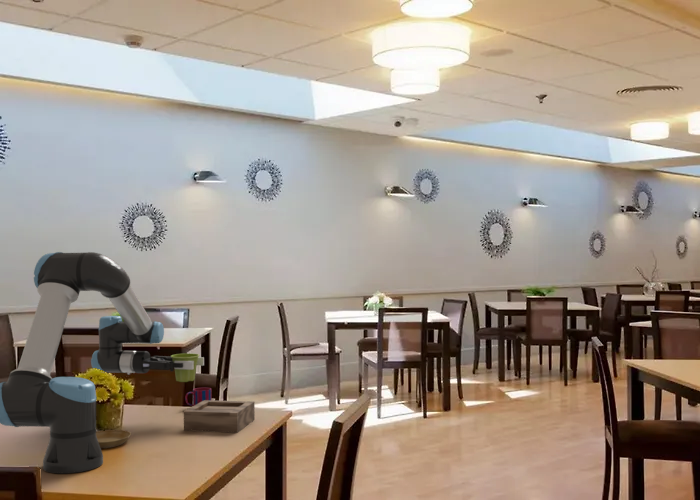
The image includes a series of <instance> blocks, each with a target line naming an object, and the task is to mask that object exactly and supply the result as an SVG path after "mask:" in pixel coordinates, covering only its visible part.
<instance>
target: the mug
mask: <svg viewBox="0 0 700 500" xmlns="http://www.w3.org/2000/svg"><path fill="white" fill-rule="evenodd" d="M190 394H192V403H189V402H188V401H189V400H188V396H189V395H190ZM184 399H185V403H186V404H187V405H188V406H190V407H193V406H194V405H196V404H198V403H200V402H202V401H204V400H212V388H211V387H197V388H193V389H192V391H189V392H187V393H186V394H185V397H184Z"/></svg>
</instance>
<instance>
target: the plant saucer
mask: <svg viewBox="0 0 700 500" xmlns="http://www.w3.org/2000/svg"><path fill="white" fill-rule="evenodd" d="M96 436H97V439H98V442H99V445H100V448H101V449H107V448H116V447H118V446H121V445H124V443H125V442H127V440H128V439H129V438H130V437H131V436H132V433H131V432H130V431H128V430H124V429H123V430H122V429H105V431H103V430H96Z"/></svg>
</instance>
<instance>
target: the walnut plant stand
mask: <svg viewBox="0 0 700 500" xmlns="http://www.w3.org/2000/svg"><path fill="white" fill-rule="evenodd" d="M255 412H256V411H255V401H252V400H251V401H243V400H216V399H215V400H213V399H211V400H204V401H202V402H200V403H198V404H196V405H194V406H190V407H189V408H187V409H185V410H184V411H183V431H184V432H187V431H189V432H215V433H217V432H218V433H239V432H240V431H241V430H243V429H245V427H247V426H249V423H250V424H251V423H252V422H254V421H255V416H256V415H255V414H256V413H255ZM253 420H254V421H253Z"/></svg>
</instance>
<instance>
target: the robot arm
mask: <svg viewBox="0 0 700 500" xmlns="http://www.w3.org/2000/svg"><path fill="white" fill-rule="evenodd" d="M34 266H35V267H34V269H33V275H34V277H33V283H34V285H35V287H36V290H37V293H38V294H39V295H40V297H39V300H38V303H37V307H36V310H35V313H34V317H33V319H32V323H31V326H30V329H29V332H28V335H27V338H26V342H25V345H24V348H23V351H22V353H21V354H22V355H21V357H20V361H19V363H18V367H17V368H16V369H14V370H12V371H10V373H9V376H8V379H7V381H2V382H0V425H3V426H6V427H7V426H8V427H14V428H19V427H43V428H44V427H46V428H47V427H49V441H48V445H47V448H46V451H45V453H44V455H43V460H42V469H43V471H45V472H46V473H51V474H75V473H81V472H87V471H90V470H93V469H96V468H99V467H101V466H102V465H103V464H104V454H103V450H102V448H100V445H99V442H98V439H97V436H96V431H97V393H96V385H95V384H94V382H93V381H91V380H89V379H88V378H83V377H79V376H77V377H76V376H57V377H52V376H51V372H52V369H53V365H54V362H55V359H56V355H57V352H58V348H59V345H60V342H61V338H62V334H63V332H64V327H65V324H66V321H67V319H68V318H67V317H68V314H69V310H70V307H71V304H72V303H75V302H76V301H77V300H78V299H79V295H80V292H90V291H92V292H99V293H100V294H101V295H102V296H103V297H105V298H107V299H109V301H110V303H111V304H112V305H113V307H114V308H115V310H116V311H117V312H118V315H106V316H101V317H100V318H99V320H98V321H99V324H98V346H99V347H98V350H95V351H94V352H93V354H92V355H91V359H90V363H91V368H92V369H93V368H97V369H100V370H103V371H105V372H107V373H113V374H114V373H116V374H117V373H118V374H119V373H125V374H127V375H131V374H132V373H133V374H135V373H136V374H147V373H148V372H149V371H150V370H161V371H162V370H163V371H164V370H165V371H170V372H175V369H191V370H193V369H194V361H174V362H173V360H172V357H171V356H172V355H170V356H169V355H168V356H166V355H164V356H163V355H153V356H151V354H150V352H149V351H147V350H123V349H122V348H123V344H124V345H125V344H130V345H131V344H139V345H140V344H144V345H145V344H146V345H153V344H160V343H161V342H162V341H163V340H164V335H165V328H164V325H163V323H162V322H161V321H153V320H152V319H151V317H150V315H148V313H147V311H146V309H145V307H144V306H143V305H142V302H141V301H140V300H139V298H138V296H137V293H136V292H135V291H134V289H133V288H132V287H131V279H130V276H129V275H128V273H127V272H126V271H125V270H124V268H123V267H122V266H121V265H120V264H119V263H117V262H116V261H115V260H113V259H112V258H110V257H108V256H106V255H104V254H103V253H98V252H91V251H88V252H61V251H57V252H49V253H46V254H44V255H42V256H41V257H40V258H39V259H38V261H37V262H36V265H34ZM196 366H202V367H203V366H205V357H204V356H203V357H202V356H201V357H200V356H199V357H198V361H197V365H196ZM105 372H104V373H105ZM107 373H106V374H107Z"/></svg>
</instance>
